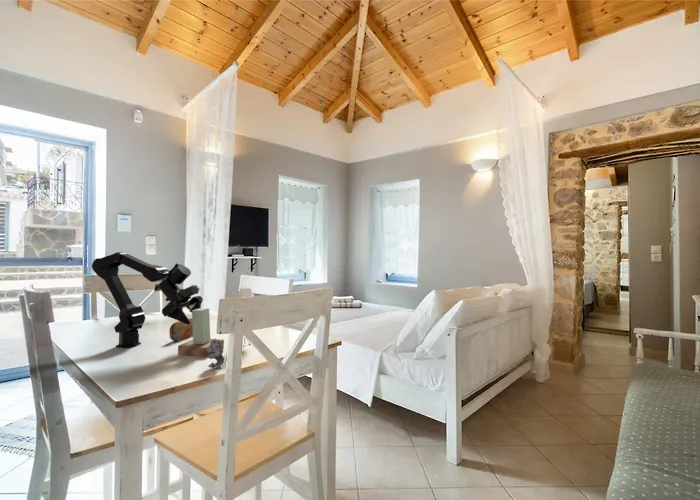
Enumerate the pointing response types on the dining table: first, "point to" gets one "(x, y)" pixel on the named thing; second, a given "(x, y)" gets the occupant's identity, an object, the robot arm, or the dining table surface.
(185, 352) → the walnut block
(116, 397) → the dining table surface
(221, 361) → the grey lumpy figurine
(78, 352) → the dining table surface
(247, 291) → the champagne flute
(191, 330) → the tin
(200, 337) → the sage block
